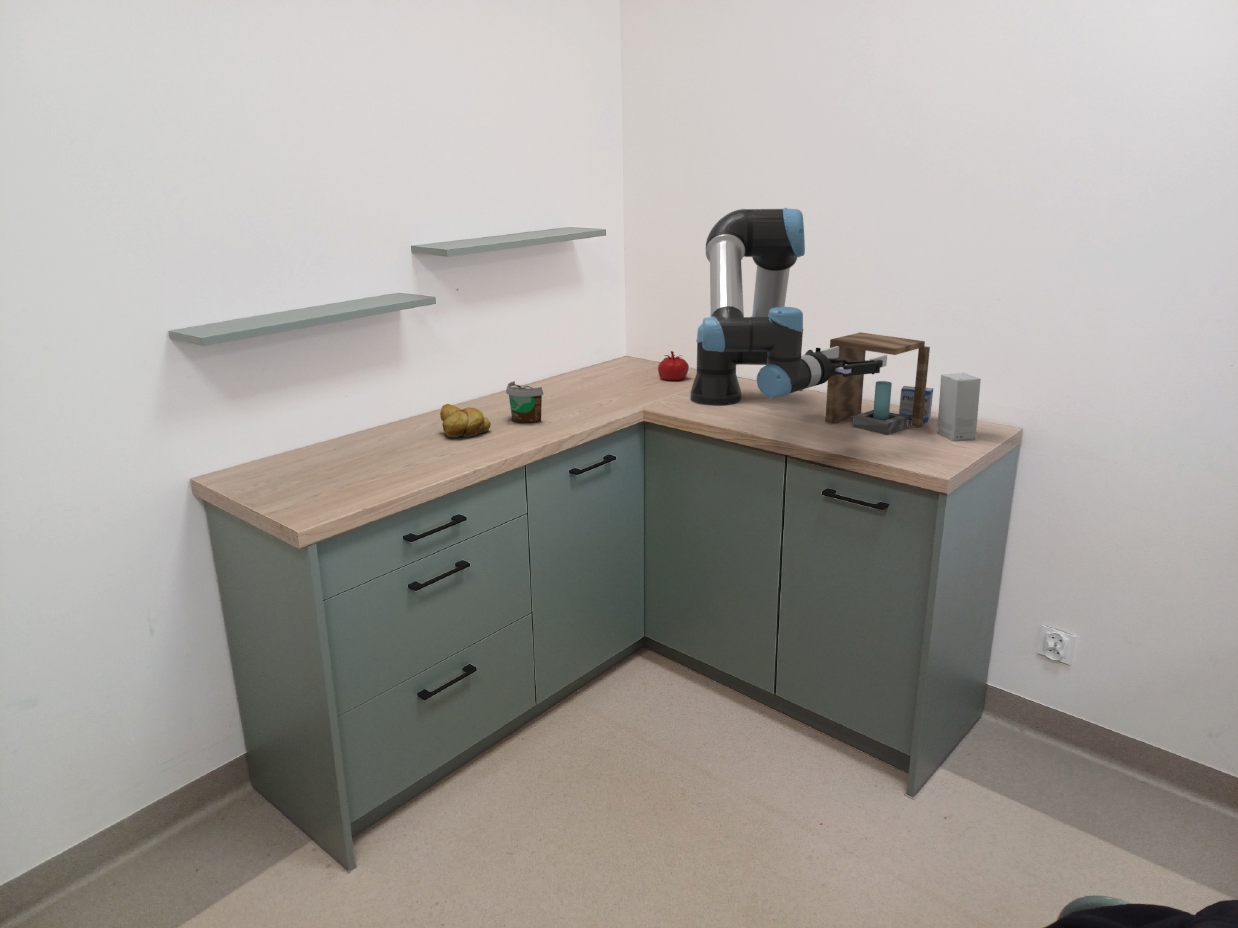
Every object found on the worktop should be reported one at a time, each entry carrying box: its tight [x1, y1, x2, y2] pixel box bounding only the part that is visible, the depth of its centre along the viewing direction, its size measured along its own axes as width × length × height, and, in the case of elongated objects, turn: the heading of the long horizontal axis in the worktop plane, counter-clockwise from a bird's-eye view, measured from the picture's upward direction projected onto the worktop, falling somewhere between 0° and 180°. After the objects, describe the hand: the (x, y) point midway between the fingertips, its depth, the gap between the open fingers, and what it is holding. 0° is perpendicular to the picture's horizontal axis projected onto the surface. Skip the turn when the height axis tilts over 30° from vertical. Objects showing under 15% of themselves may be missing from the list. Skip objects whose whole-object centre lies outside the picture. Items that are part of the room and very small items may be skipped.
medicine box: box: [898, 385, 934, 423], centre depth 235 cm, size 8×4×9 cm, turn 65°
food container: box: [505, 380, 544, 425], centre depth 239 cm, size 12×6×10 cm, turn 47°
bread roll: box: [439, 403, 492, 439], centre depth 228 cm, size 13×10×8 cm
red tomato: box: [657, 350, 690, 382], centre depth 285 cm, size 10×10×9 cm
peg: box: [873, 380, 893, 421], centre depth 227 cm, size 4×4×12 cm
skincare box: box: [936, 372, 982, 442], centre depth 218 cm, size 8×7×16 cm
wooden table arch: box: [824, 332, 931, 436], centre depth 229 cm, size 15×20×22 cm
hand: (861, 355), depth 215 cm, fingers open, 13 cm apart
